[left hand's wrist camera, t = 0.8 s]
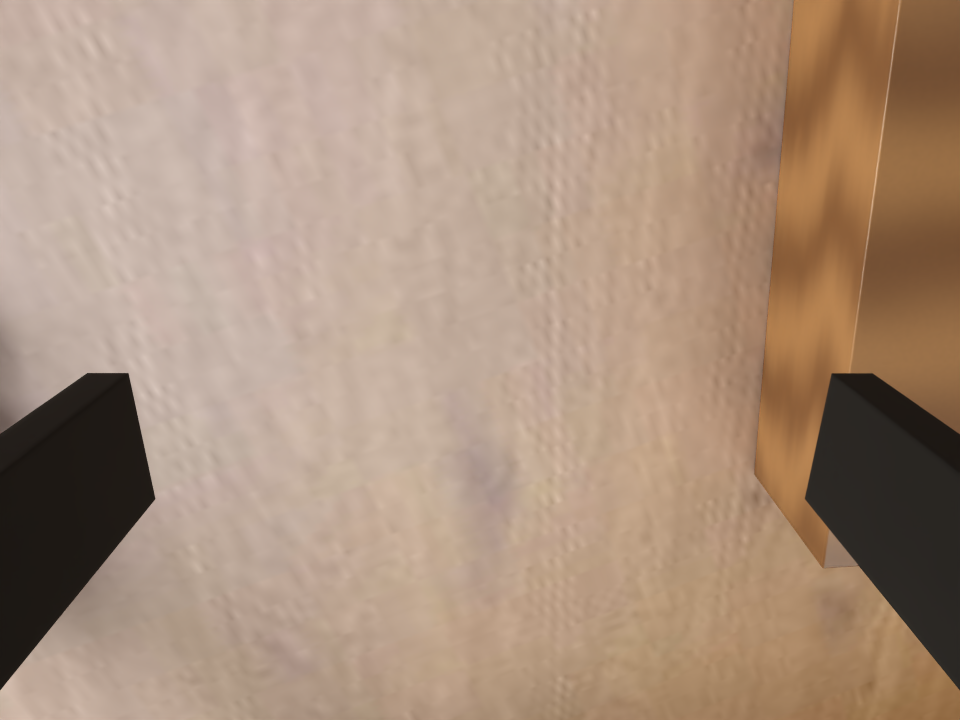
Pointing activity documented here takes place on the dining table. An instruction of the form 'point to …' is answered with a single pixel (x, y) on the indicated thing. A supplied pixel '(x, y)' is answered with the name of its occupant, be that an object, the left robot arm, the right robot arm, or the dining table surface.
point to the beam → (862, 230)
